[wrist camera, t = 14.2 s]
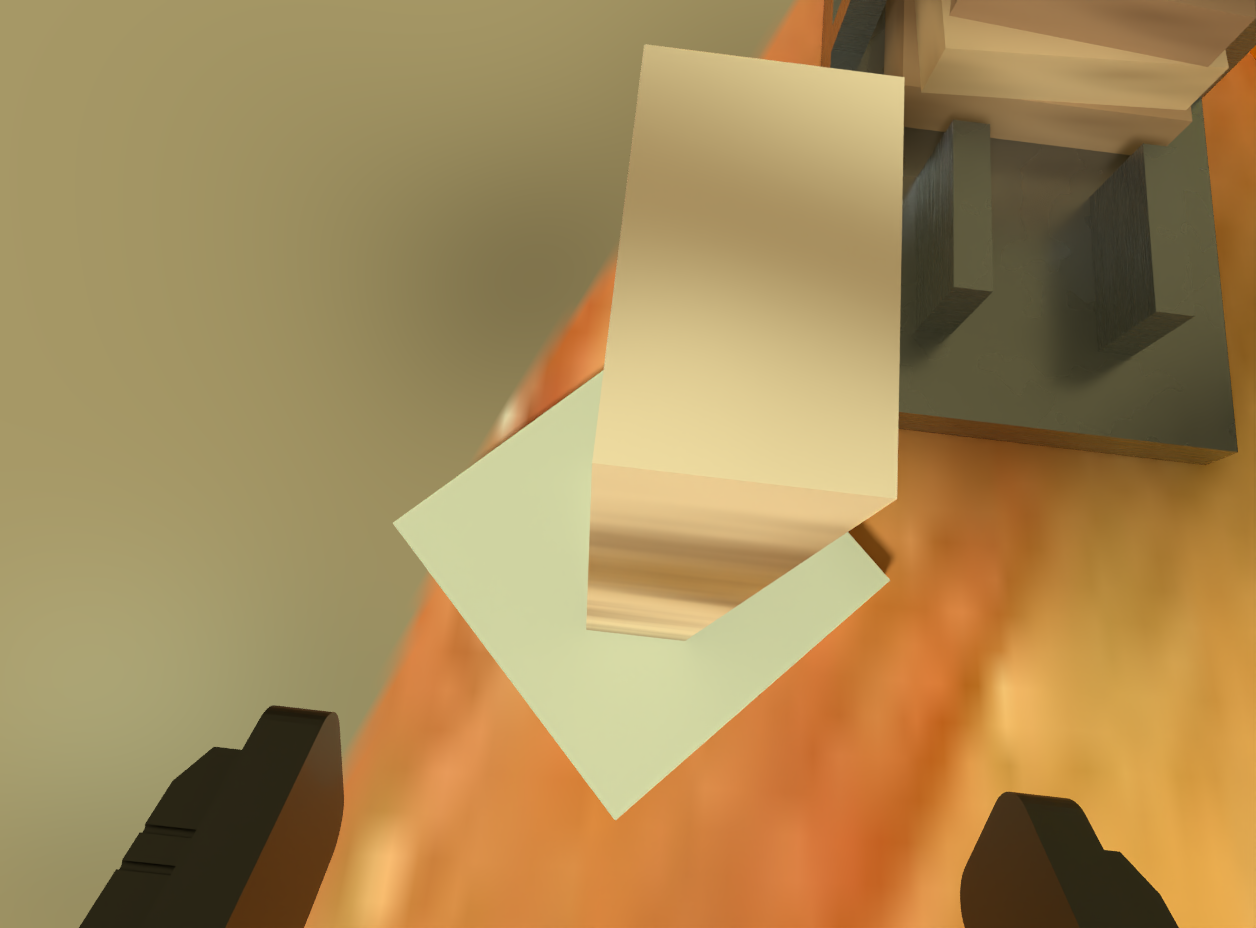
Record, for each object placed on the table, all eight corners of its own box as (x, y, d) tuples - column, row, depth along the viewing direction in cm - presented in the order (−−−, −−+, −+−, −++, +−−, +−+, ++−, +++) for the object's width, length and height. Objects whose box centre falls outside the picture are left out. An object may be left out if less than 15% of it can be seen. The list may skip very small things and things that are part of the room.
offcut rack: (826, -43, 34) (941, -398, 23) (1163, 0, 35) (1433, -330, 24) (803, 417, 29) (939, 235, 18) (1205, 464, 29) (1586, 315, 18)
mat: (663, 336, 29) (666, 324, 28) (879, 584, 27) (890, 579, 26) (399, 529, 27) (392, 522, 26) (614, 816, 25) (615, 820, 24)
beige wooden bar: (605, 471, 27) (643, 44, 10) (698, 482, 27) (904, 77, 10) (585, 629, 25) (591, 462, 8) (684, 641, 26) (896, 499, 8)
